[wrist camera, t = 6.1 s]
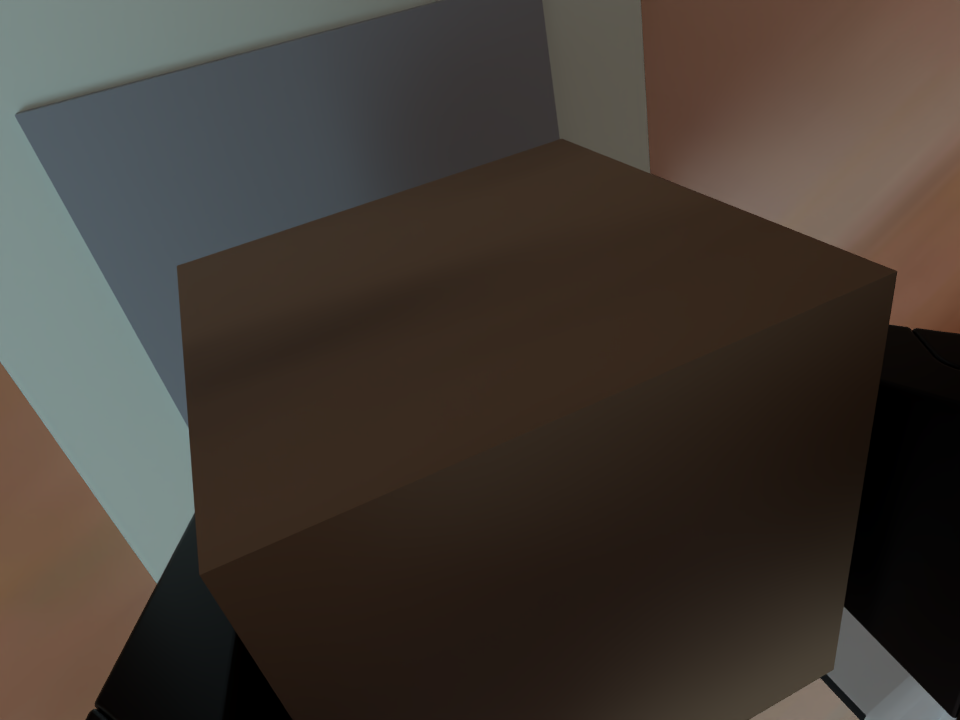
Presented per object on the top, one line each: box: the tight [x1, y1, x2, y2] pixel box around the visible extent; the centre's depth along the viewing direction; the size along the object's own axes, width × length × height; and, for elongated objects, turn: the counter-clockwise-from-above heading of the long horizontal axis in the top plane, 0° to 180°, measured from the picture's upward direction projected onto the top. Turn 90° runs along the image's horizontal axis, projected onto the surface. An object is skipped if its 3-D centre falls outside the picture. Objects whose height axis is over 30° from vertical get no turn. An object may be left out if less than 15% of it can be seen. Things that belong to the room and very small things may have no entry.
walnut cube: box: [177, 139, 897, 720], centre depth 8 cm, size 5×5×5 cm
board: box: [0, 0, 650, 583], centre depth 13 cm, size 16×12×1 cm
